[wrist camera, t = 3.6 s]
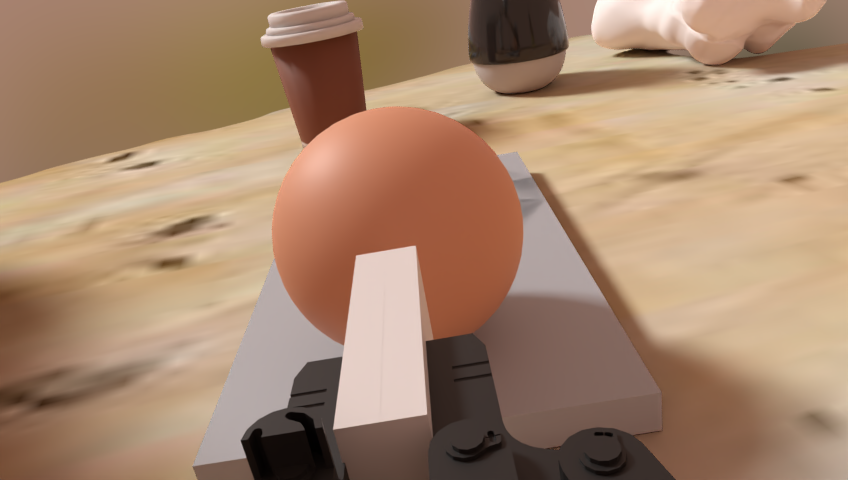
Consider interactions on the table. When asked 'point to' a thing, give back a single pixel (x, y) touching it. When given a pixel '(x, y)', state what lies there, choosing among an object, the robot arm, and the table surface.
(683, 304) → the table surface
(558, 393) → the board
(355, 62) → the coffee cup
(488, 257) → the ball
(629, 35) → the torso sculpture
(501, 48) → the black egg shaped figurine
